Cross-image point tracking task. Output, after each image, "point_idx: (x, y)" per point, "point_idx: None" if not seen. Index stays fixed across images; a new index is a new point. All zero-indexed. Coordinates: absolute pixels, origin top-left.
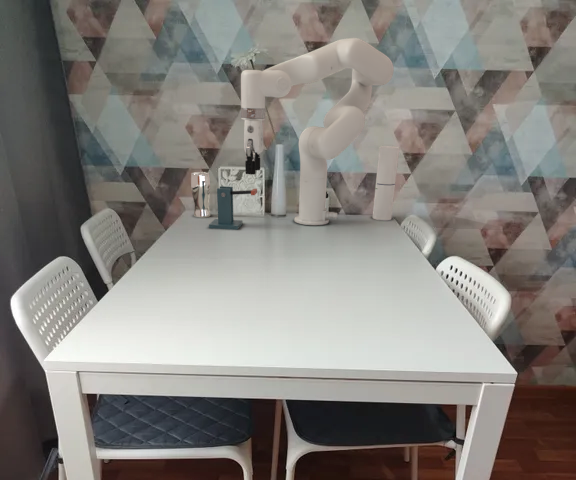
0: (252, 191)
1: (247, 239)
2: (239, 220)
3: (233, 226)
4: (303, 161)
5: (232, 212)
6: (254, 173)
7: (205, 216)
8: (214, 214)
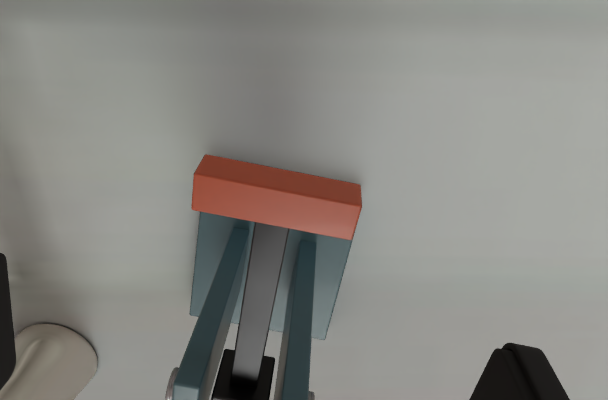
0: (355, 223)
1: (598, 151)
2: None
3: None
4: None
5: (239, 262)
6: (540, 361)
7: (88, 346)
8: None
